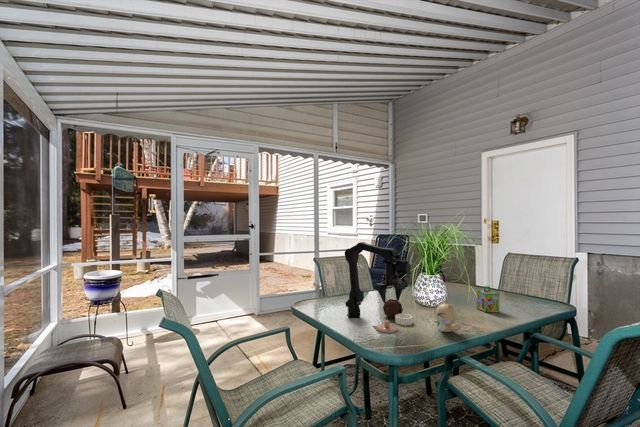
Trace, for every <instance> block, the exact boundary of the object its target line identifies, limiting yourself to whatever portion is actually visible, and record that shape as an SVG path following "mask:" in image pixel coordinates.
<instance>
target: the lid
mask: <svg viewBox="0 0 640 427" xmlns="http://www.w3.org/2000/svg"><path fill="white" fill-rule="evenodd" d="M383 322H384V323H383V324H378V325H376V326H377V330H378V331H380V332H383V333H394V332H397V331H398V329H399V328H398V327H397V326H396V325H395V326H393V325H394V324H391V323H390V320H389V319H384V320H383Z"/></svg>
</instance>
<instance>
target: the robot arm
mask: <svg viewBox="0 0 640 427" xmlns="http://www.w3.org/2000/svg"><path fill="white" fill-rule="evenodd" d="M363 251H365V252H369V253H372V254H375V255H378V256H380V257H381V258H383V260H382V261H381V264H383V265H384V268H385V269H384V271H385V272H384V273H383V276H384V277H385V280H384V281H383V283H381V282H378V283H375V284H374V285H373V290H375V291H377V292H378V294H379V296H380V299H381V300H382V302H383V304H385V302H386V301H387V299H386V294H387V292H388V290H387V289H388V288H394V291H395V298H396V299H395V300H397V301H398V302H400V299H401V295H402V293H403V291H404V290H406V289H407V288H408V282H407V278H406V277H402V278H400V277H399V274H403V275H410V274H411V271H412V267H411V264H410V260H402V257H400V255H399V254H398V250H397V249H396V248H393V247H381V246H377V245H373V244H370V243H366V242H365V241H361V242H358V243H356V244H355V245H353V246H351V247H350V248H347V249H345V251H344V257H345V260H346V262H347V264H348V270H349V271H348V272H349V280H350V281H349V283H350V290H349V295H348V299H347V301H346V302H345V307H346V308H347V314H346V315H347V317H348V318H349V319H359V318H361V308H360V306H361V304H362V303H363V302H364V298H365V296H364V290H361V288H360V280H359V272H358V271H359V269H358V268H359V267H358V262H359V259H360V254H361V253H362V252H363Z"/></svg>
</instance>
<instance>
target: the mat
mask: <svg viewBox="0 0 640 427" xmlns="http://www.w3.org/2000/svg"><path fill="white" fill-rule="evenodd" d="M392 325H393V326H396V325H395V324H392ZM377 326H378V325H372V328H373V329H374V330H375V332H377V333H378V334H379V335H391V334H392V335H394V334H404V333H403V331H401V329H399V328H398V331H397V332H394V333H383V332H380V331H378V330H377Z"/></svg>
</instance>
